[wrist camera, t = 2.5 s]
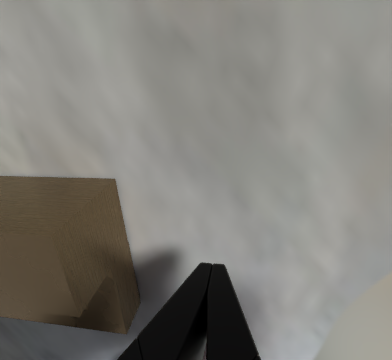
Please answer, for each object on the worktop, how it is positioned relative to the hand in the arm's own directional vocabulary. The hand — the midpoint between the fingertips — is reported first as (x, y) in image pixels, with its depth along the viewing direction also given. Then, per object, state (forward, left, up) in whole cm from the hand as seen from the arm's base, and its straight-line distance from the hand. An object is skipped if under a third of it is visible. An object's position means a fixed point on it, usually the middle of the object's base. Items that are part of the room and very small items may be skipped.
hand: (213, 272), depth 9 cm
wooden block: (-2, +13, -3) cm, 14 cm away
